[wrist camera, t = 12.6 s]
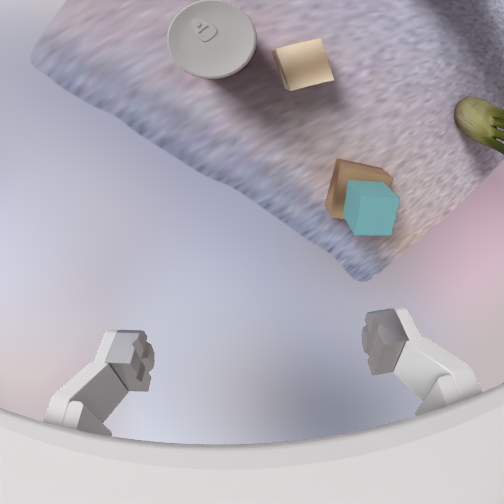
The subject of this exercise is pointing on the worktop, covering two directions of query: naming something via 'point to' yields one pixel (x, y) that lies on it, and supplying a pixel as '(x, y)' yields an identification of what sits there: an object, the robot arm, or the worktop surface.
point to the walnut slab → (340, 179)
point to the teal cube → (370, 208)
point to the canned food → (211, 39)
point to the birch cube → (303, 64)
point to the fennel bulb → (481, 121)
